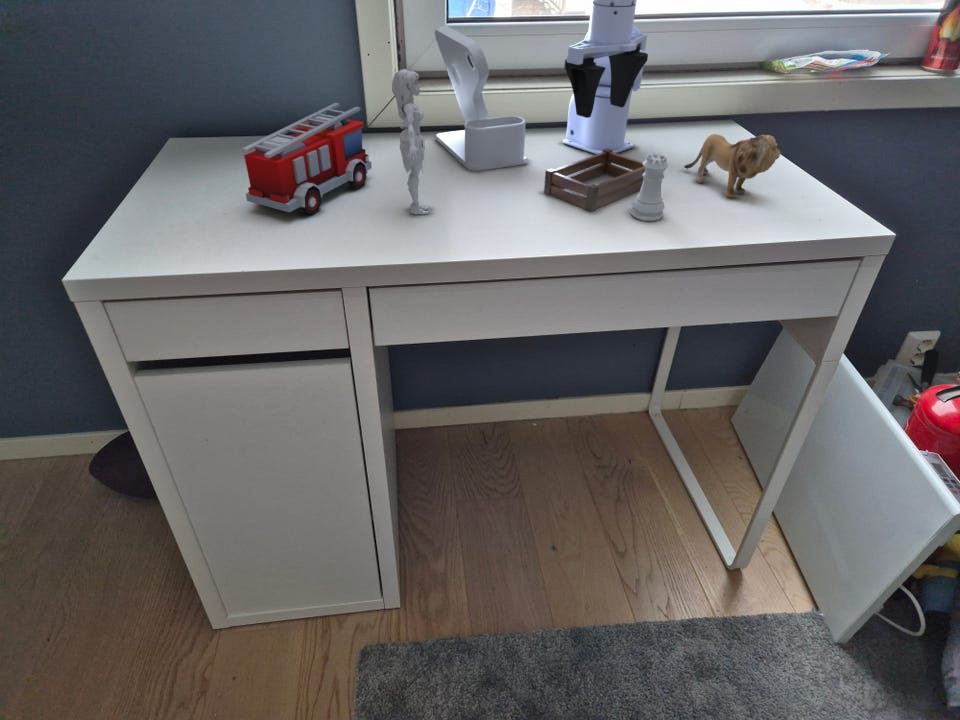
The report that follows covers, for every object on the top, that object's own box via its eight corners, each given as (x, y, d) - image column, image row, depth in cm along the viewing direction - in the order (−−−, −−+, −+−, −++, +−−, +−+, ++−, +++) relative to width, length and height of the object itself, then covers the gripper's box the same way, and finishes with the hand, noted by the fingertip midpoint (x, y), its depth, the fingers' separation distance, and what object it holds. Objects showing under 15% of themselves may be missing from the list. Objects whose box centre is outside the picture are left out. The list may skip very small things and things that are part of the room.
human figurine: (432, 230, 84) (427, 82, 73) (403, 232, 83) (394, 83, 73) (423, 193, 93) (417, 58, 83) (397, 195, 93) (387, 59, 82)
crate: (543, 192, 94) (545, 170, 92) (604, 170, 102) (607, 148, 100) (591, 212, 89) (593, 188, 87) (651, 186, 96) (655, 164, 94)
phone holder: (530, 164, 103) (537, 39, 92) (470, 172, 100) (471, 45, 89) (487, 131, 116) (489, 18, 105) (433, 137, 113) (429, 22, 102)
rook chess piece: (665, 211, 89) (676, 153, 85) (661, 224, 86) (672, 165, 81) (632, 206, 91) (641, 149, 86) (627, 219, 87) (636, 160, 82)
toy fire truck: (378, 178, 98) (373, 109, 92) (294, 225, 84) (281, 149, 78) (331, 167, 101) (322, 100, 95) (243, 211, 88) (226, 136, 82)
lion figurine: (773, 199, 93) (792, 136, 88) (749, 207, 91) (767, 143, 85) (694, 167, 103) (707, 108, 97) (670, 174, 100) (682, 114, 95)
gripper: (602, 13, 79) (589, 127, 87) (671, 1, 86) (654, 107, 95) (558, 5, 83) (550, 115, 91) (628, -5, 91) (615, 97, 99)
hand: (600, 110), depth 93 cm, fingers open, 7 cm apart
